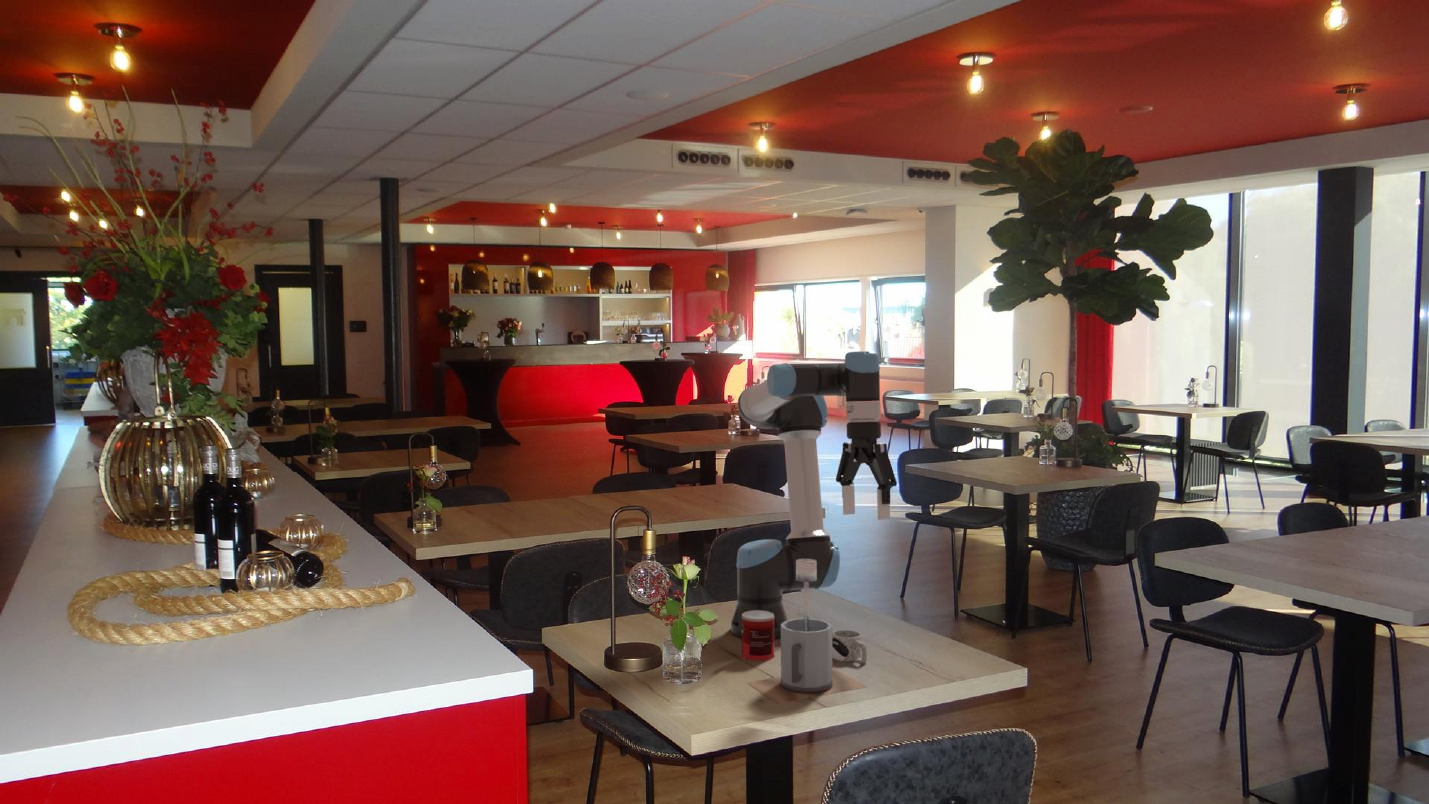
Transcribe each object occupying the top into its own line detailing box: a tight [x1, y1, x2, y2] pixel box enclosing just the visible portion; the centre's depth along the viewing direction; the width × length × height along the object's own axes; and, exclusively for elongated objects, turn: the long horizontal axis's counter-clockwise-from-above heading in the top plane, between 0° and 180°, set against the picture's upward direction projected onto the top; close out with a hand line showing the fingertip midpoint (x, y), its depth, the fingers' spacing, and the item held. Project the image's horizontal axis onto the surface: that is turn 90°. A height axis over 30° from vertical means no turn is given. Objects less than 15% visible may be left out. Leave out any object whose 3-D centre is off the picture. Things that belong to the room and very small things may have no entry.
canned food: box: [741, 610, 775, 662], centre depth 236 cm, size 8×8×11 cm
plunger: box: [796, 559, 817, 632], centre depth 214 cm, size 8×8×18 cm
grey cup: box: [780, 617, 833, 694], centre depth 214 cm, size 11×14×13 cm
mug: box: [832, 629, 868, 665], centre depth 233 cm, size 10×7×7 cm
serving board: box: [746, 667, 868, 704], centre depth 215 cm, size 22×14×1 cm, turn 115°
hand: (866, 516), depth 221 cm, fingers open, 13 cm apart
